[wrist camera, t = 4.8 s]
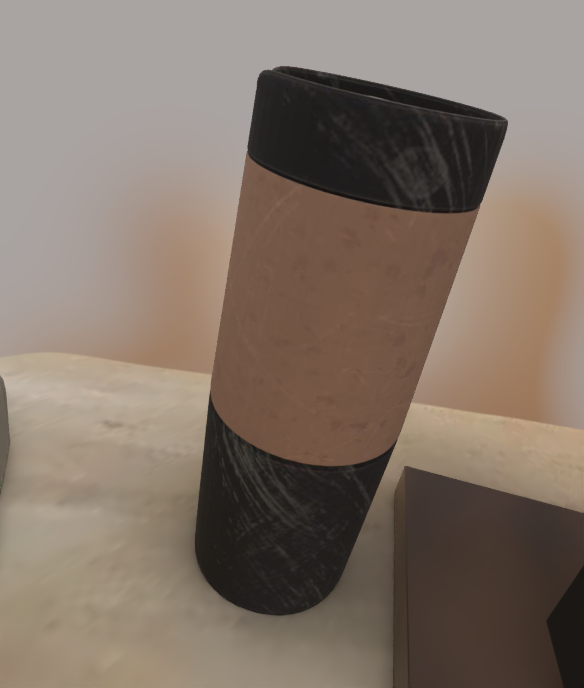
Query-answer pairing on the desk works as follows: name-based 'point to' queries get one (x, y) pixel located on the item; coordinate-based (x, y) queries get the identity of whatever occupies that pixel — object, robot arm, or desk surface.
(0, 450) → the digital clock
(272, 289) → the travel mug
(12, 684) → the desk surface
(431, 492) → the shelf
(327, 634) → the desk surface
